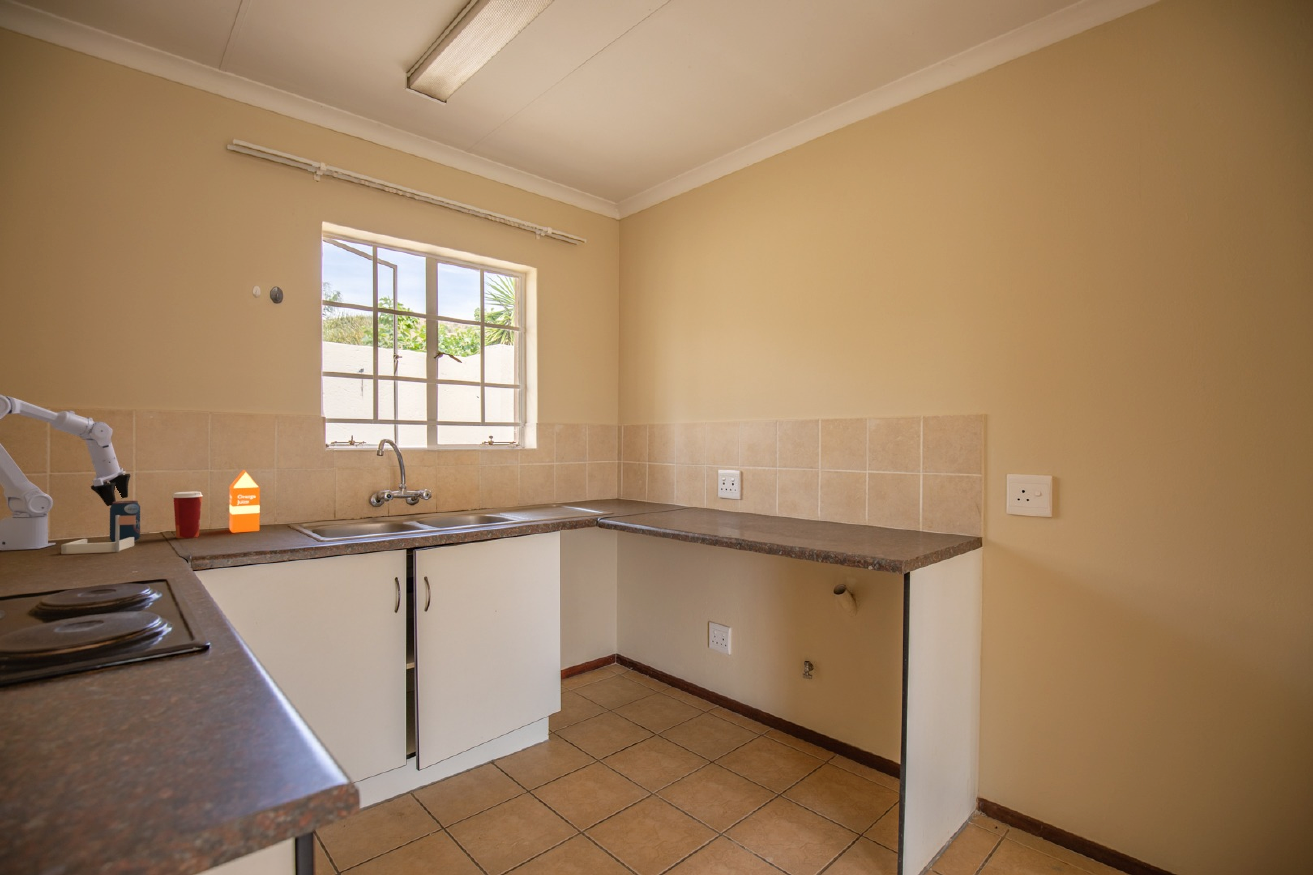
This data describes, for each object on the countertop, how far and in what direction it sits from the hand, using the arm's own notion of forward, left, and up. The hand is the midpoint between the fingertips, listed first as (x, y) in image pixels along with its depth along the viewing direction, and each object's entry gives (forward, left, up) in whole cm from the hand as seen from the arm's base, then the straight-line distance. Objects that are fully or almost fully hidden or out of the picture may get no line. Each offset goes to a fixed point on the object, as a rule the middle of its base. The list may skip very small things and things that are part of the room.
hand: (117, 501), depth 195 cm
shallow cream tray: (+9, -26, -11) cm, 30 cm away
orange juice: (+33, +6, -11) cm, 35 cm away
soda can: (+7, -11, -11) cm, 17 cm away
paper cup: (+21, -6, -11) cm, 25 cm away
